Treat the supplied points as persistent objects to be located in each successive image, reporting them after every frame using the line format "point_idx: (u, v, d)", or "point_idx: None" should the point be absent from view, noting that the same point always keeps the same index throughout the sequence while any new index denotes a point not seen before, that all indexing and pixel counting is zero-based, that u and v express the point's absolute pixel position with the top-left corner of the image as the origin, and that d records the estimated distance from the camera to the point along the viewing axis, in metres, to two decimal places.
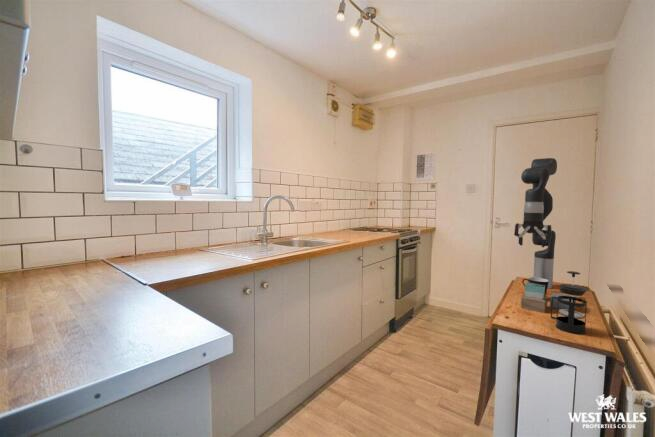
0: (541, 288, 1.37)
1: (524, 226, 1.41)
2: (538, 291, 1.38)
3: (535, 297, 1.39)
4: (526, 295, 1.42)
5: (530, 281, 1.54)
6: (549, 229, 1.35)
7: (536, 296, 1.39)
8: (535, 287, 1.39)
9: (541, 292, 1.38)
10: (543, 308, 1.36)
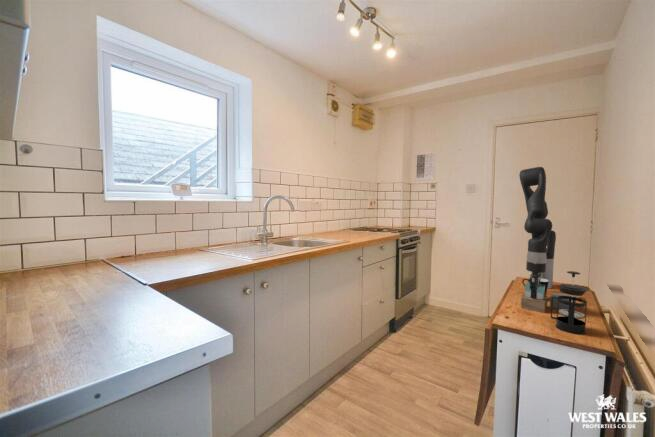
0: (541, 288, 1.37)
1: (537, 278, 1.38)
2: (538, 291, 1.38)
3: None
4: (526, 295, 1.42)
5: None
6: None
7: None
8: None
9: (541, 292, 1.38)
10: (543, 308, 1.36)
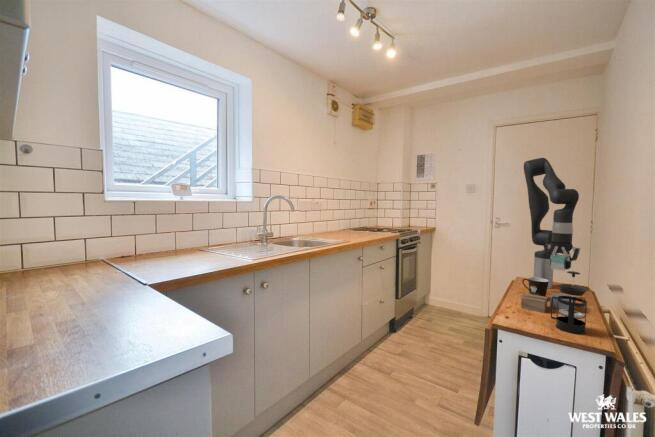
0: None
1: None
2: None
3: None
4: (564, 268, 1.37)
5: (530, 281, 1.54)
6: None
7: None
8: None
9: None
10: (543, 308, 1.36)
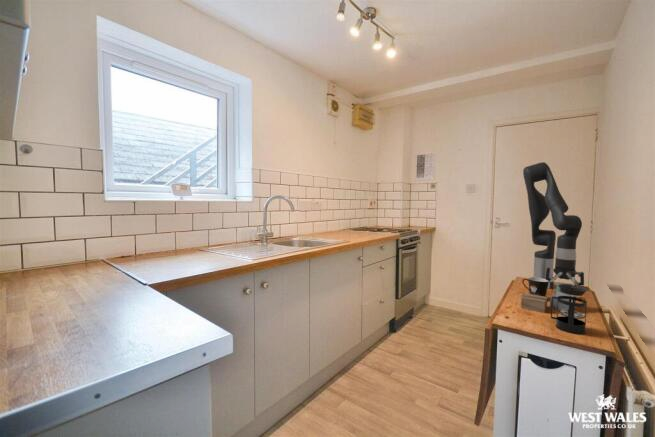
0: None
1: None
2: None
3: None
4: None
5: (530, 281, 1.54)
6: None
7: (570, 295, 1.41)
8: None
9: None
10: (543, 308, 1.36)
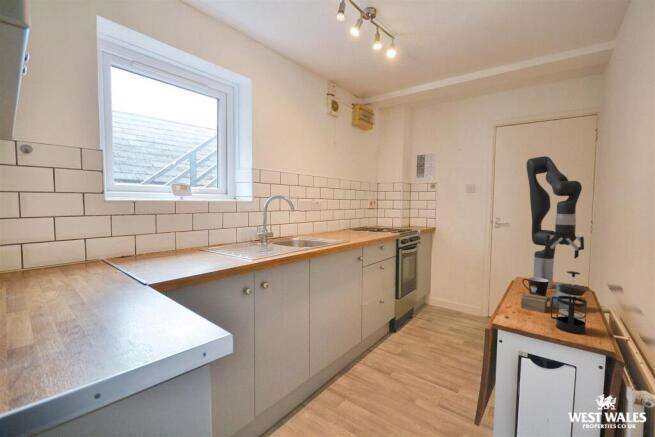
0: None
1: None
2: None
3: None
4: None
5: (530, 281, 1.54)
6: None
7: (570, 295, 1.41)
8: None
9: None
10: (543, 308, 1.36)
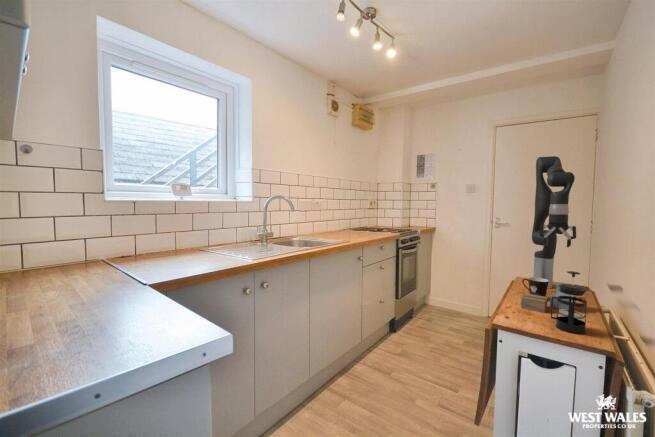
0: None
1: None
2: None
3: None
4: None
5: (530, 281, 1.54)
6: None
7: (570, 295, 1.41)
8: None
9: None
10: (543, 308, 1.36)
